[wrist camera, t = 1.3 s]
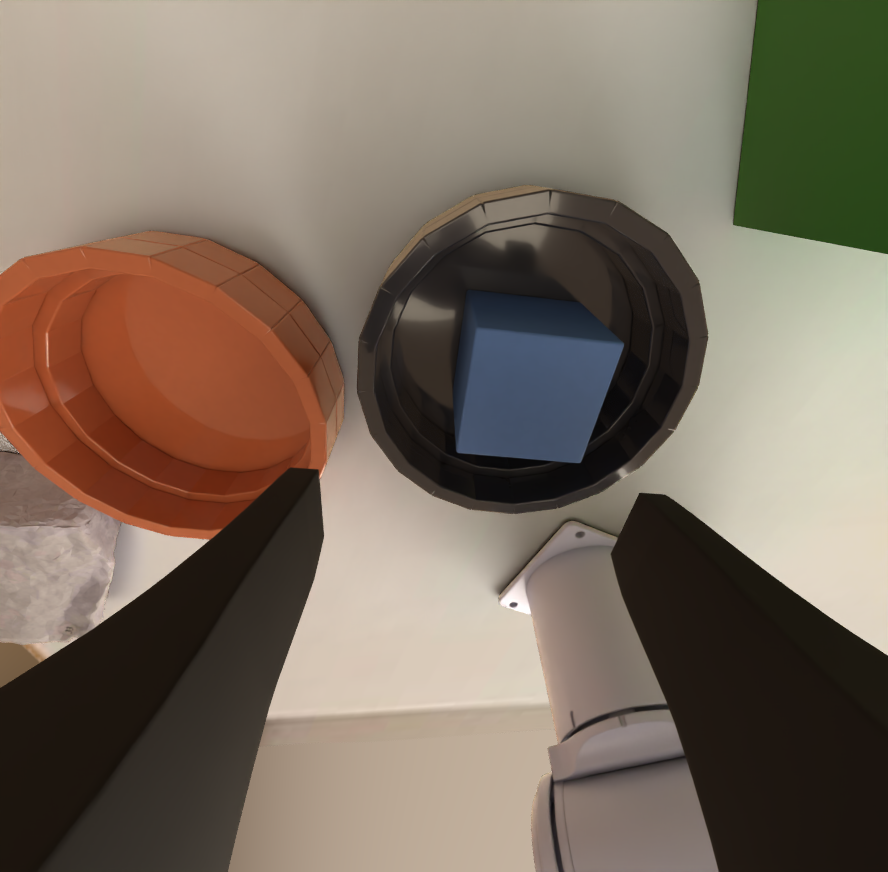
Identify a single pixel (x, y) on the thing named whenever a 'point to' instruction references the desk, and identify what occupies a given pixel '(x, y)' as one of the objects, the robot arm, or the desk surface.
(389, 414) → the black bowl
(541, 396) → the block
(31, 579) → the stone block
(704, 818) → the robot arm
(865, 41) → the hardback book
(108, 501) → the orange bowl
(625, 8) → the desk surface
